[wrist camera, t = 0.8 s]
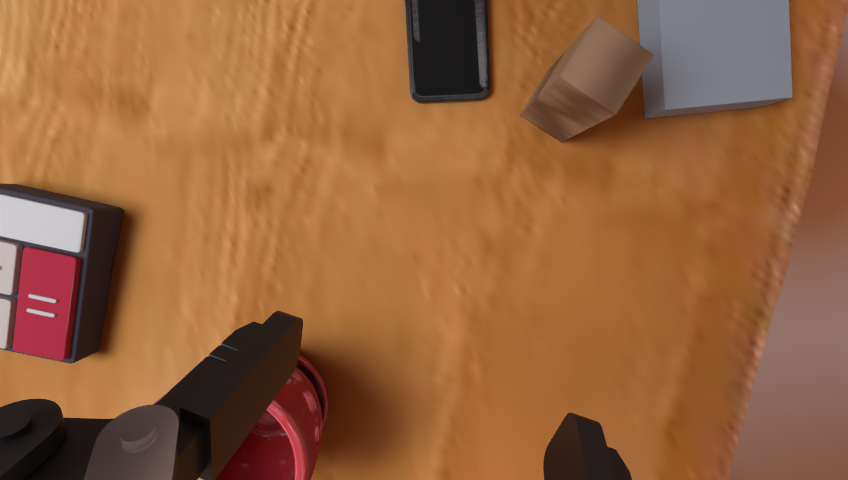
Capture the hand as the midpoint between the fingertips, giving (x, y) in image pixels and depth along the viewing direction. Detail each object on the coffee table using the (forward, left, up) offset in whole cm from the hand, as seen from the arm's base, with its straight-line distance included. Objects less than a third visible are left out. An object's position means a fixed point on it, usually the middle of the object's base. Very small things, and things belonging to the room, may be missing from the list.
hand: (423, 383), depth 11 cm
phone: (-23, +5, -27) cm, 36 cm away
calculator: (-3, -36, -27) cm, 45 cm away
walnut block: (-14, +15, -26) cm, 34 cm away
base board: (-20, +30, -26) cm, 45 cm away
